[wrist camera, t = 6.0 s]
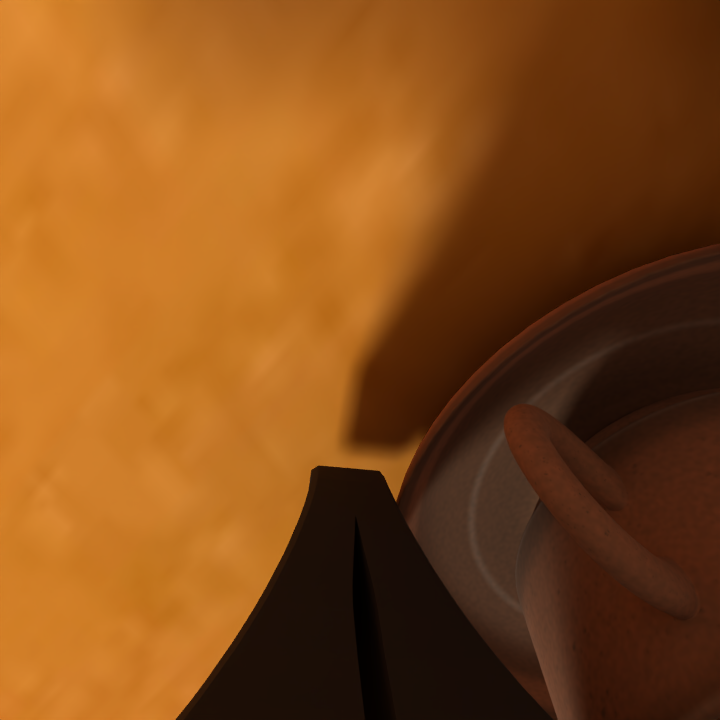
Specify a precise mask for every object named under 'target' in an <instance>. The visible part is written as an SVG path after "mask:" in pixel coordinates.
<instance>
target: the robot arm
mask: <svg viewBox="0 0 720 720" xmlns="http://www.w3.org/2000/svg"><path fill="white" fill-rule="evenodd" d="M176 720H554V719H553V718H552V717H551V716H550V715H549V714H548V713H547V712H546V711H545V710H544V709H543V708H542V707H541V706H540V705H539V704H538V703H537V701H536V700H535V699H534V698H533V697H532V696H531V695H530V694H529V693H528V692H527V691H526V690H525V689H524V688H523V686H522V685H521V684H520V683H519V682H518V681H517V679H516V678H515V677H514V676H513V675H512V674H511V672H510V671H509V670H508V669H507V668H506V666H505V665H504V664H503V663H502V662H501V661H500V659H499V658H498V657H497V656H496V655H495V653H494V652H493V651H492V649H491V648H490V647H489V646H488V644H487V643H486V642H485V641H484V639H483V638H482V637H481V636H480V634H479V633H478V632H477V630H476V629H475V628H474V626H473V625H472V624H471V622H470V621H469V620H468V618H467V617H466V616H465V614H464V613H463V611H462V610H461V609H460V607H459V606H458V604H457V603H456V601H455V600H454V599H453V597H452V596H451V594H450V593H449V591H448V590H447V588H446V587H445V585H444V584H443V582H442V581H441V579H440V578H439V576H438V575H437V573H436V572H435V570H434V568H433V567H432V565H431V564H430V562H429V560H428V559H427V557H426V555H425V554H424V552H423V550H422V549H421V547H420V545H419V544H418V542H417V540H416V539H415V537H414V535H413V533H412V531H411V530H410V528H409V526H408V524H407V522H406V521H405V519H404V517H403V515H402V513H401V511H400V509H399V507H398V505H397V503H396V501H395V499H394V497H393V495H392V493H391V491H390V489H389V487H388V485H387V482H386V480H385V478H384V476H383V475H382V474H381V472H380V471H374V470H363V469H351V468H340V467H329V466H317V467H316V468H314V469H312V470H311V477H310V484H309V491H308V494H307V498H306V501H305V504H304V507H303V510H302V513H301V515H300V518H299V520H298V523H297V525H296V527H295V530H294V532H293V534H292V537H291V539H290V541H289V544H288V546H287V548H286V550H285V552H284V554H283V556H282V558H281V560H280V562H279V564H278V566H277V568H276V570H275V572H274V573H273V575H272V577H271V579H270V581H269V583H268V585H267V587H266V589H265V590H264V592H263V594H262V596H261V597H260V599H259V601H258V602H257V604H256V606H255V608H254V609H253V611H252V613H251V614H250V616H249V617H248V619H247V621H246V622H245V624H244V625H243V627H242V628H241V630H240V632H239V633H238V635H237V636H236V638H235V639H234V641H233V642H232V644H231V645H230V647H229V648H228V650H227V651H226V652H225V654H224V655H223V657H222V658H221V660H220V661H219V663H218V664H217V665H216V667H215V668H214V670H213V671H212V673H211V674H210V675H209V677H208V678H207V680H206V681H205V682H204V684H203V685H202V686H201V688H200V689H199V691H198V692H197V693H196V694H195V696H194V697H193V698H192V700H191V701H190V702H189V704H188V705H187V706H186V707H185V709H184V710H183V711H182V712H181V714H180V715H179V716H178V717H177V719H176Z"/></svg>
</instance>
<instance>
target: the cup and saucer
mask: <svg viewBox="0 0 720 720" xmlns="http://www.w3.org/2000/svg"><path fill="white" fill-rule="evenodd" d="M396 503H397V505H398V507H399V509H400V511H401V513H402V515H403V517H404V519H405V521H406V522H407V524H408V526H409V528H410V530H411V531H412V533H413V535H414V537H415V539H416V540H417V542H418V544H419V545H420V547H421V549H422V550H423V552H424V554H425V555H426V557H427V559H428V560H429V562H430V564H431V565H432V567H433V568H434V570H435V572H436V573H437V575H438V576H439V578H440V579H441V581H442V582H443V584H444V585H445V587H446V588H447V590H448V591H449V593H450V594H451V596H452V597H453V599H454V600H455V601H456V603H457V604H458V606H459V607H460V609H461V610H462V611H463V613H464V614H465V616H466V617H467V618H468V620H469V621H470V622H471V624H472V625H473V626H474V628H475V629H476V630H477V632H478V633H479V634H480V636H481V637H482V638H483V639H484V641H485V642H486V643H487V644H488V646H489V647H490V648H491V649H492V651H493V652H494V653H495V655H496V656H497V657H498V658H499V659H500V661H501V662H502V663H503V664H504V665H505V666H506V668H507V669H508V670H509V671H510V672H511V674H512V675H513V676H514V677H515V678H516V679H517V681H518V682H519V683H520V684H521V685H522V686H523V688H524V689H525V690H526V691H527V692H528V693H529V694H530V695H531V696H532V697H533V698H534V699H535V700H536V701H537V703H538V704H539V705H540V706H541V707H542V708H543V709H544V710H545V711H546V712H547V713H548V714H549V715H550V716H551V717H552V718H553V719H554V720H720V244H715V245H710V246H706V247H702V248H698V249H695V250H691V251H687V252H683V253H679V254H675V255H672V256H669V257H666V258H663V259H660V260H657V261H655V262H652V263H649V264H646V265H643V266H640V267H638V268H635V269H632V270H630V271H628V272H626V273H623V274H621V275H619V276H617V277H614V278H612V279H610V280H608V281H605V282H603V283H601V284H599V285H597V286H595V287H593V288H591V289H589V290H587V291H586V292H584V293H582V294H580V295H578V296H576V297H575V298H573V299H571V300H569V301H567V302H565V303H564V304H562V305H560V306H559V307H557V308H556V309H554V310H553V311H551V312H550V313H548V314H547V315H545V316H544V317H542V318H541V319H539V320H537V321H536V322H534V323H533V324H531V325H530V326H529V327H527V328H526V329H525V330H524V331H522V332H521V333H520V334H518V335H517V336H516V337H515V338H513V339H512V340H511V341H509V342H508V343H507V344H506V345H504V346H503V347H502V348H500V349H499V350H498V351H497V352H496V353H495V354H494V355H493V356H492V357H491V358H490V359H489V360H488V361H486V362H485V363H484V364H483V365H482V366H481V367H480V368H479V369H478V370H477V371H476V372H475V373H474V374H473V375H472V376H471V377H470V378H469V379H468V380H467V381H466V383H465V384H464V385H463V386H462V387H461V388H460V389H459V390H458V391H457V393H456V394H455V395H454V396H453V397H452V398H451V400H450V401H449V402H448V404H447V405H446V406H445V408H444V409H443V410H442V412H441V413H440V414H439V416H438V417H437V418H436V420H435V421H434V422H433V424H432V425H431V427H430V429H429V430H428V432H427V434H426V435H425V437H424V439H423V440H422V442H421V444H420V445H419V447H418V449H417V451H416V453H415V455H414V457H413V459H412V461H411V464H410V466H409V468H408V470H407V472H406V474H405V477H404V480H403V483H402V486H401V489H400V492H399V495H398V498H397V501H396Z"/></svg>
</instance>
